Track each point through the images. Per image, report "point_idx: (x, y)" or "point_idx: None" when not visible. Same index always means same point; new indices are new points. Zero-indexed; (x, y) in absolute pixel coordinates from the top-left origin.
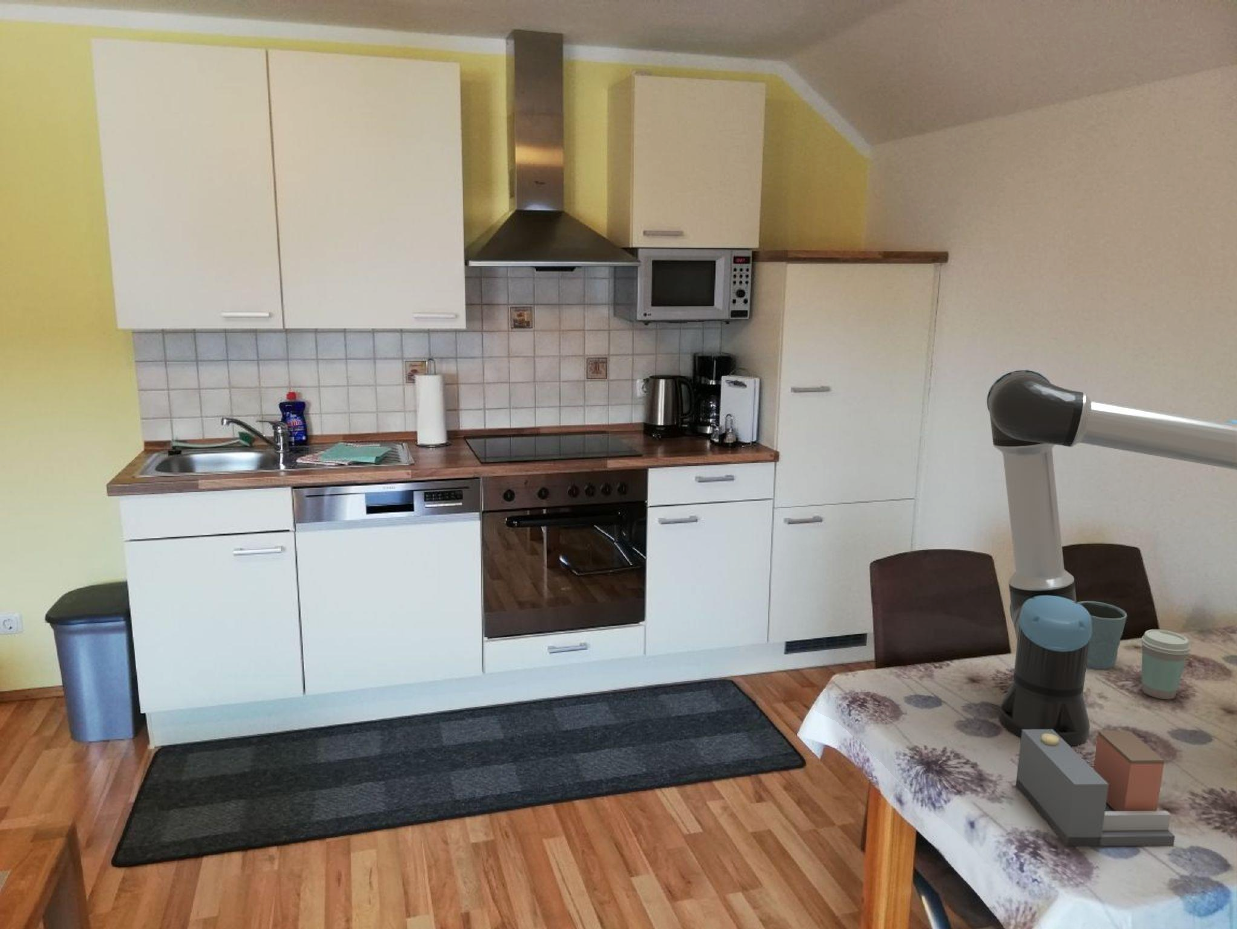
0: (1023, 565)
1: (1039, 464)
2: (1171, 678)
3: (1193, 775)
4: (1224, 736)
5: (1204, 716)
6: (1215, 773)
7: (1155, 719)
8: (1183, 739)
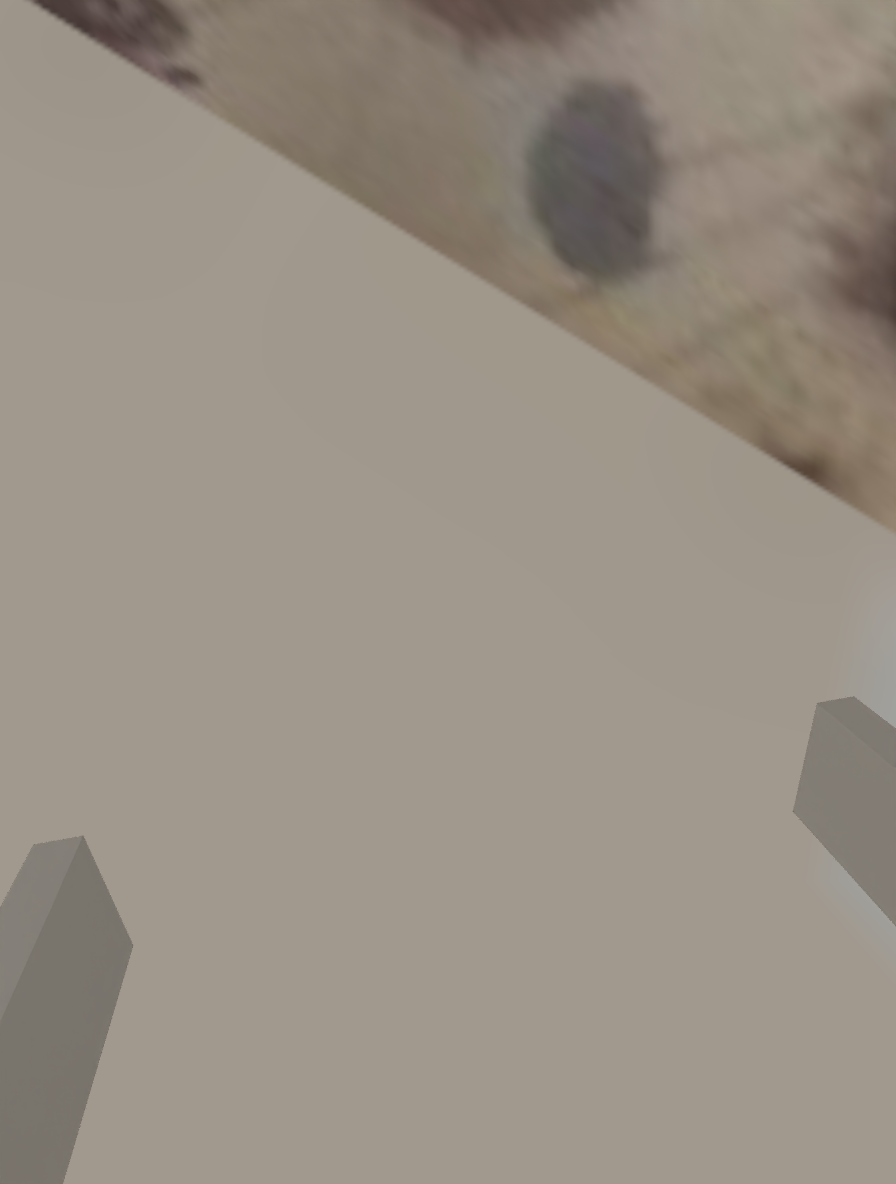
0: None
1: None
2: None
3: (271, 2)
4: (595, 336)
5: (760, 350)
6: (303, 119)
7: (748, 91)
8: (566, 132)
